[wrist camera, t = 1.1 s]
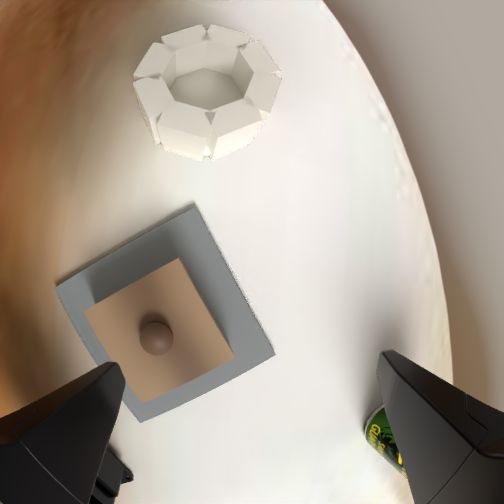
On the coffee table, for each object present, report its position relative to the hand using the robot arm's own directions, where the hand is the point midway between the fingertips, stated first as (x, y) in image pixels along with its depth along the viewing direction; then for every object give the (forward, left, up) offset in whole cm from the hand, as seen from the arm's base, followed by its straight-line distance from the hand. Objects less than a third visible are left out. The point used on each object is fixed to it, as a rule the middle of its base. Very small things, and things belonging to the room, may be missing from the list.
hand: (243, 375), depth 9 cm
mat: (-4, +1, -11) cm, 12 cm away
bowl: (+6, +14, -11) cm, 19 cm away
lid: (-4, +1, -11) cm, 12 cm away
